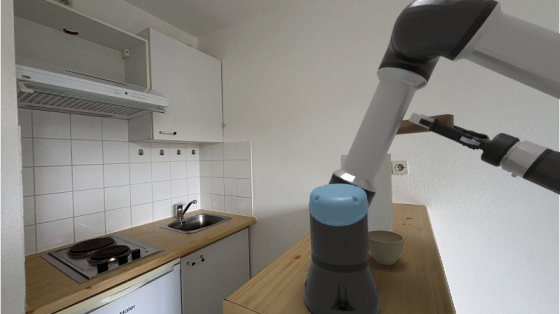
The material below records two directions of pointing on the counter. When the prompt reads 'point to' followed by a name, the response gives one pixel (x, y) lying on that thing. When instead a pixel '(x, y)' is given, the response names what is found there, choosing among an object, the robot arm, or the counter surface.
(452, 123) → the batten
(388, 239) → the flower pot
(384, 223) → the riser
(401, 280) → the counter surface
